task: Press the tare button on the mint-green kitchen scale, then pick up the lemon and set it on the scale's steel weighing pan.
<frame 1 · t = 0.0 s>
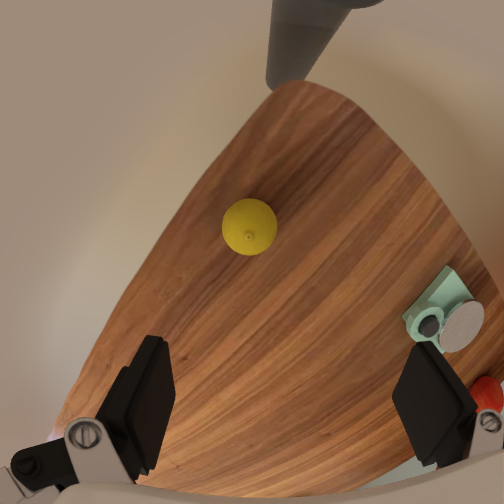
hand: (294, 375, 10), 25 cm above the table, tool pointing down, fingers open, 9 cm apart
apple: (476, 383, 44), on the table
pan: (449, 314, 37), resting on scale
lemon: (250, 217, 33), on the table
scale: (442, 310, 37), on the table
tare button: (429, 326, 33), point 4 cm above the table, slide at 0.1 cm
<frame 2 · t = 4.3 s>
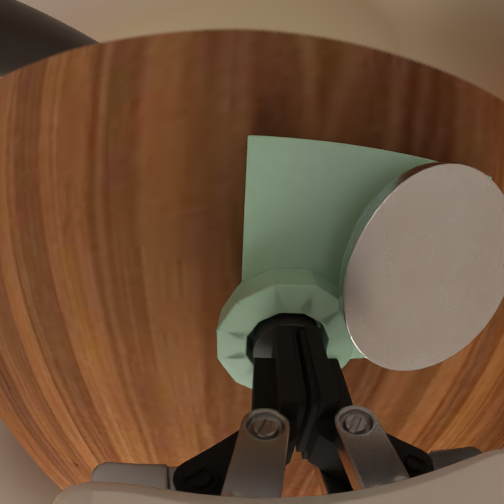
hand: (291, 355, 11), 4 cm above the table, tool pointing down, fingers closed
pan: (402, 246, 13), resting on scale
scale: (366, 253, 14), on the table
tare button: (286, 342, 12), point 3 cm above the table, slide at -0.7 cm, touching gripper
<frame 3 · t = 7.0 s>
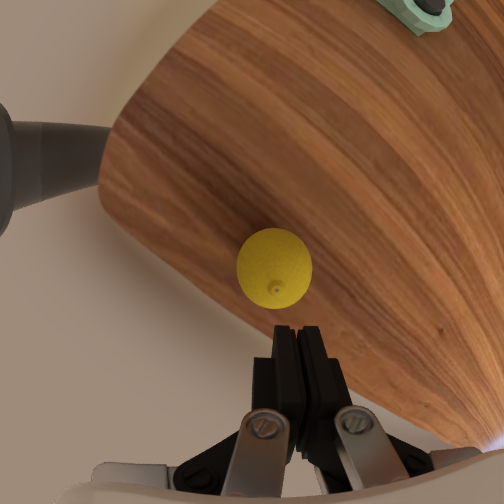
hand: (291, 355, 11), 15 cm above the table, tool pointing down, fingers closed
lemon: (271, 248, 25), on the table
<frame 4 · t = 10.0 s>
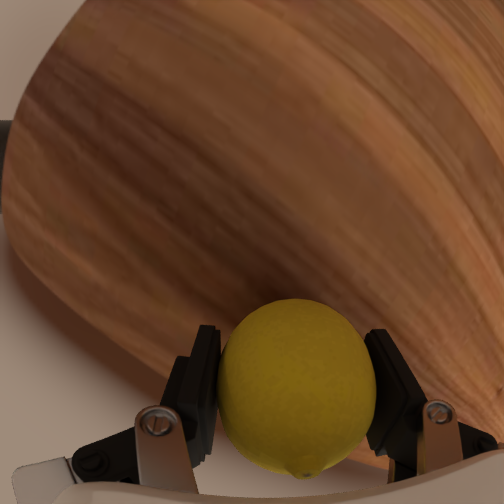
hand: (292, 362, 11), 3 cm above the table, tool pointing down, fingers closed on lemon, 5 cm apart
lemon: (286, 319, 14), on the table, touching gripper
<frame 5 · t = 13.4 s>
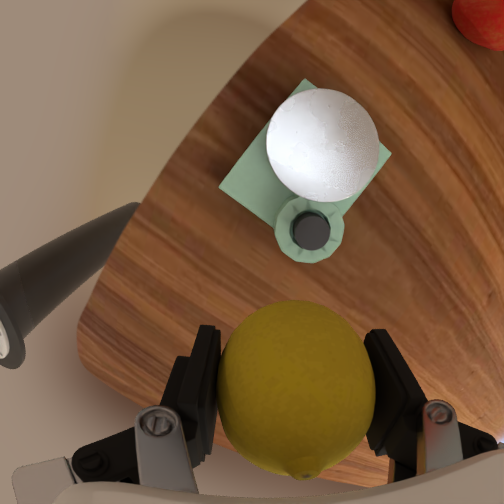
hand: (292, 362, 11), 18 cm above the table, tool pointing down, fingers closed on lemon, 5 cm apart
apple: (466, 27, 18), on the table
pan: (314, 145, 24), resting on scale
lemon: (285, 320, 14), point 15 cm above the table, touching gripper
scale: (305, 166, 25), on the table
tare button: (311, 231, 23), point 4 cm above the table, slide at 0.1 cm
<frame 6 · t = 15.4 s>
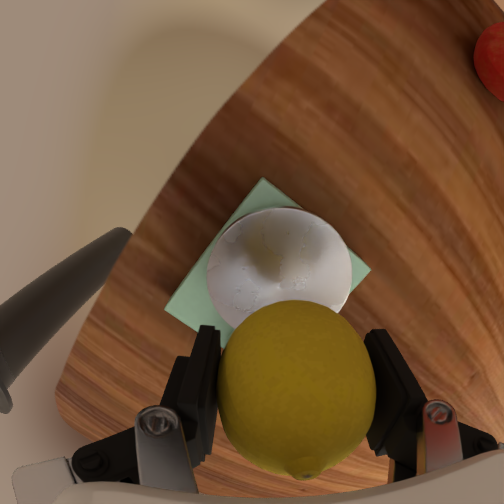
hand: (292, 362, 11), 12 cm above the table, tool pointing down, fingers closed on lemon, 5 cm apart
apple: (488, 72, 15), on the table
pan: (276, 257, 22), resting on scale
lemon: (286, 320, 14), point 9 cm above the table, touching gripper
scale: (265, 280, 22), on the table
when the fingers open (7 cm above the table, at t = 16.9 s): lemon stays where it is, resting on pan.
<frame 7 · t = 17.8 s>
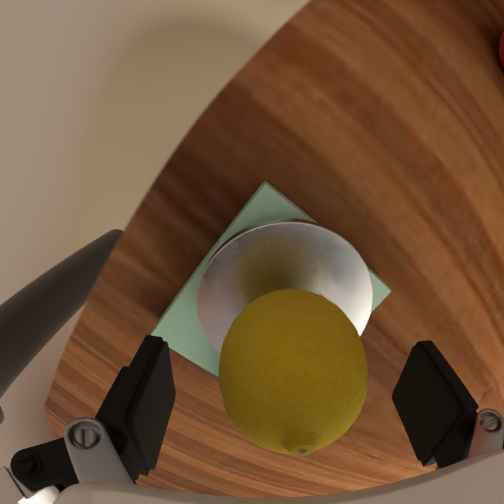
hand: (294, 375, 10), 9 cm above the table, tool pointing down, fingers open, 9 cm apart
pan: (281, 276, 18), resting on scale
lemon: (284, 310, 14), point 4 cm above the table, touching pan
scale: (267, 302, 19), on the table
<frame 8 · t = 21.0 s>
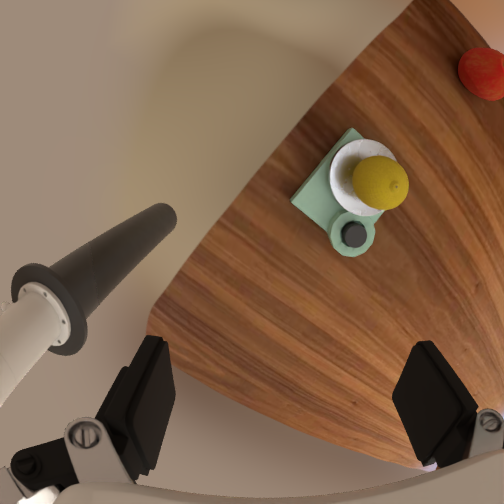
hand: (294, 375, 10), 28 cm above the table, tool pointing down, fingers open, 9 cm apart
apple: (467, 77, 28), on the table
pan: (355, 174, 35), resting on scale
lemon: (365, 178, 31), point 4 cm above the table, touching pan
scale: (348, 189, 35), on the table
tare button: (354, 234, 33), point 4 cm above the table, slide at 0.1 cm
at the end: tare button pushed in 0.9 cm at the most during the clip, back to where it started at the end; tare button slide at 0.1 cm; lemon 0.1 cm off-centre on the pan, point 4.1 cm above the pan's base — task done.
